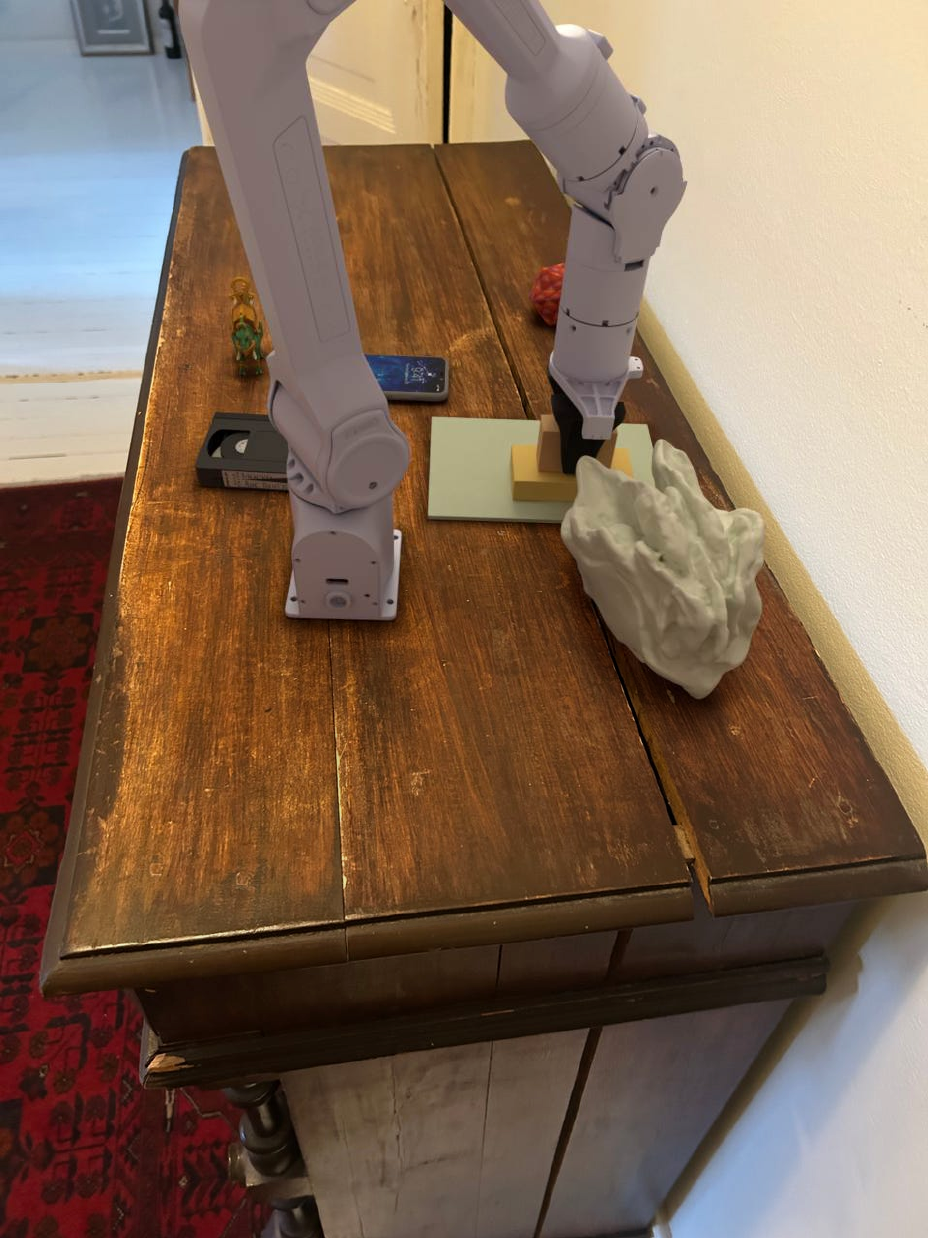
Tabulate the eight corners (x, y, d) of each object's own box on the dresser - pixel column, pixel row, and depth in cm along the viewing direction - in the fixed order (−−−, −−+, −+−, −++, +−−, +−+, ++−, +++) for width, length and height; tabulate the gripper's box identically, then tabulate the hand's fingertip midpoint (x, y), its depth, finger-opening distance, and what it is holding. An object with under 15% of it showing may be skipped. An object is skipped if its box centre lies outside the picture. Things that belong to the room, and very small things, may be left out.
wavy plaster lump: (580, 638, 71) (543, 455, 66) (739, 605, 70) (716, 416, 64) (609, 757, 55) (563, 527, 49) (818, 718, 54) (797, 476, 48)
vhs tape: (197, 486, 72) (193, 466, 71) (219, 430, 78) (215, 411, 76) (368, 495, 72) (367, 476, 71) (378, 439, 78) (377, 420, 76)
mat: (670, 527, 71) (672, 523, 71) (427, 519, 71) (427, 515, 70) (646, 427, 81) (647, 424, 81) (431, 419, 80) (431, 416, 80)
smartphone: (297, 349, 86) (449, 355, 86) (298, 358, 86) (449, 364, 87) (286, 389, 80) (448, 395, 81) (287, 398, 81) (448, 404, 82)
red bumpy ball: (562, 322, 98) (606, 325, 92) (512, 325, 95) (553, 329, 89) (563, 261, 96) (608, 260, 89) (511, 262, 93) (554, 261, 86)
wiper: (631, 503, 73) (645, 444, 68) (512, 500, 72) (518, 440, 68) (623, 466, 76) (636, 408, 72) (509, 463, 76) (515, 403, 71)
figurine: (233, 392, 82) (219, 311, 76) (236, 328, 90) (223, 249, 84) (267, 390, 82) (255, 309, 76) (266, 326, 90) (256, 249, 84)
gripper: (671, 362, 58) (632, 519, 67) (640, 263, 67) (610, 412, 77) (565, 358, 57) (542, 516, 67) (549, 259, 67) (531, 409, 77)
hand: (573, 460), depth 72 cm, fingers closed on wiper, 2 cm apart
